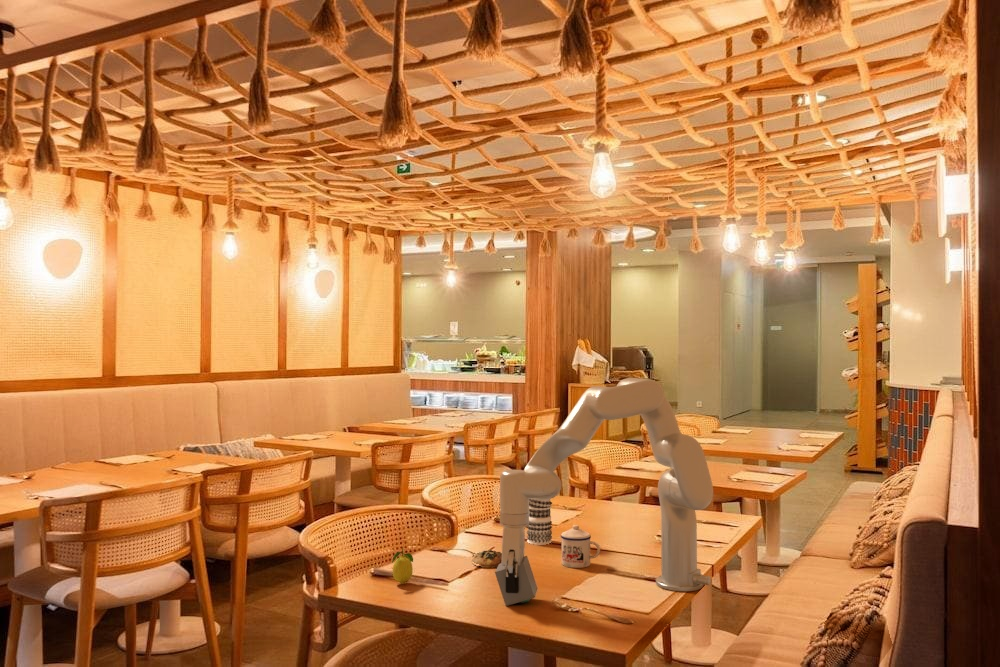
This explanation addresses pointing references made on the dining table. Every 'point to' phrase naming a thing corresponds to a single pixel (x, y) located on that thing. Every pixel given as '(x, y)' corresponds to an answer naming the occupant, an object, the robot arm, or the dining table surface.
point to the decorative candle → (539, 522)
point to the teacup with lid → (577, 548)
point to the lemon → (402, 567)
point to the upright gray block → (525, 583)
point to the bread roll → (488, 559)
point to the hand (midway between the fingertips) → (514, 587)
